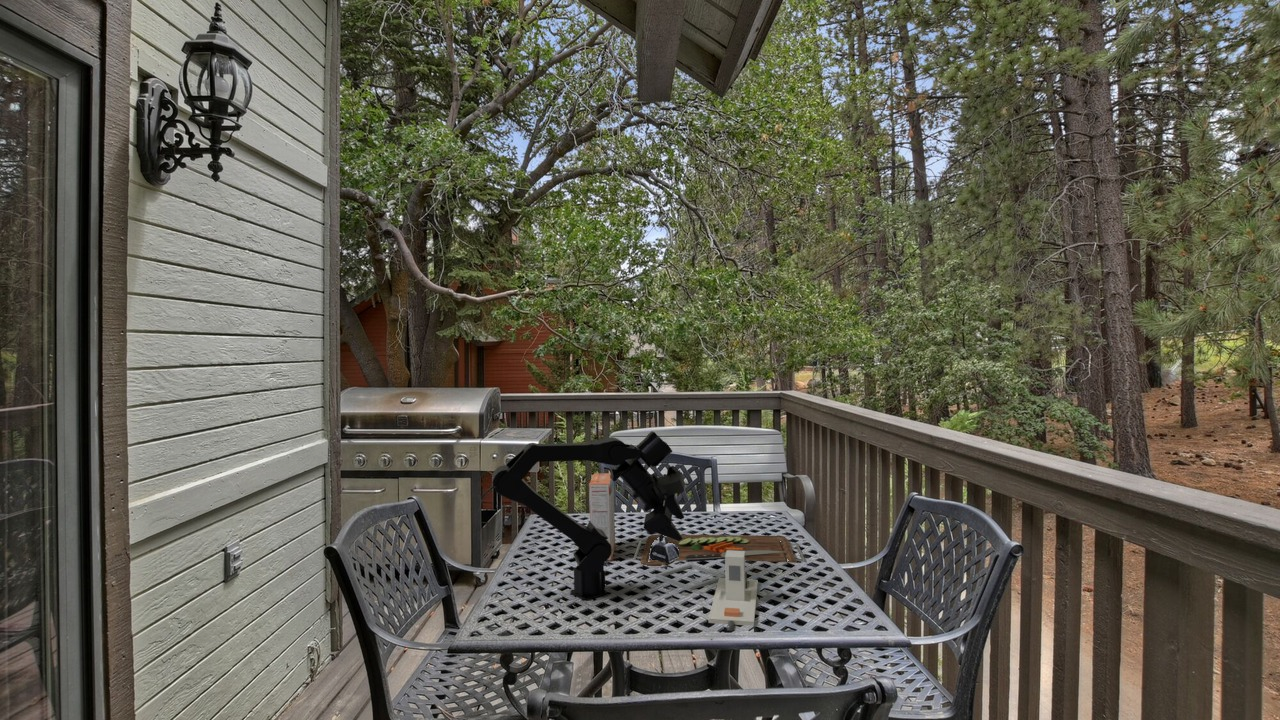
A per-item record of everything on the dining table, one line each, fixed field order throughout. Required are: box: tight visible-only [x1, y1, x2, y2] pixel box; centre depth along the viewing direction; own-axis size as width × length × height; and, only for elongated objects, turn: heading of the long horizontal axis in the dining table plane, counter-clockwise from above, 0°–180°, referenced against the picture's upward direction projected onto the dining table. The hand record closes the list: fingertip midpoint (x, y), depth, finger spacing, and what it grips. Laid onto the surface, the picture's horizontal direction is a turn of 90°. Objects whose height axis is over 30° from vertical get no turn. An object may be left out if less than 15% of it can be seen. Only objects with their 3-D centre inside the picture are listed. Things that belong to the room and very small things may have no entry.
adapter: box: [724, 550, 746, 601], centre depth 148 cm, size 4×5×10 cm
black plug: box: [745, 571, 748, 589], centre depth 155 cm, size 4×4×4 cm
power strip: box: [708, 578, 759, 632], centre depth 145 cm, size 27×9×2 cm, turn 168°
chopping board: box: [632, 534, 807, 567], centre depth 184 cm, size 45×27×3 cm, turn 84°
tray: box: [654, 563, 725, 591], centre depth 162 cm, size 12×12×1 cm
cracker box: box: [588, 472, 616, 562], centre depth 184 cm, size 14×6×21 cm, turn 178°
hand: (681, 528), depth 160 cm, fingers open, 9 cm apart
